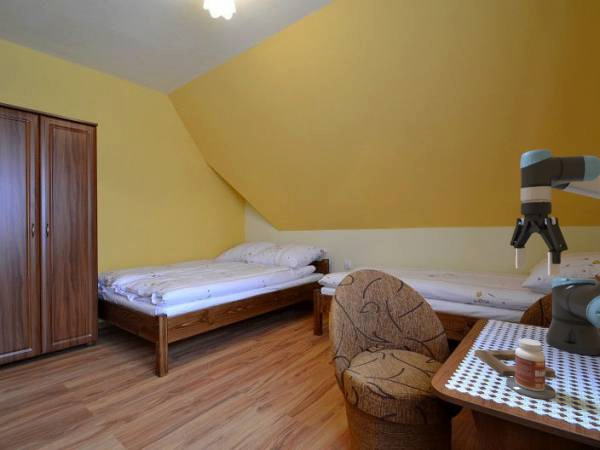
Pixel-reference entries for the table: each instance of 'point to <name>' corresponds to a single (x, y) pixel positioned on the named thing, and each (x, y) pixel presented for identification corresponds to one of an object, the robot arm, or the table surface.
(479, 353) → the wooden square frame
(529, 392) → the slate coaster
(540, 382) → the pill bottle
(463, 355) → the table surface
